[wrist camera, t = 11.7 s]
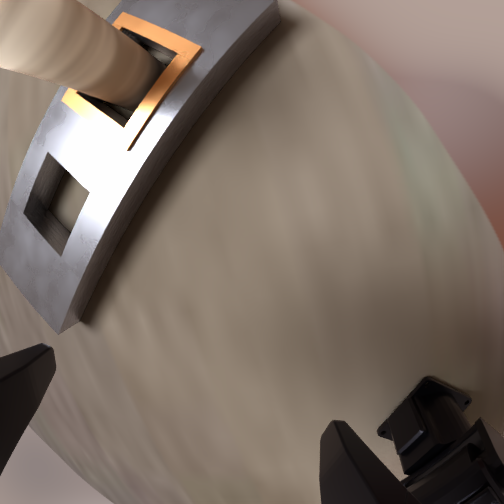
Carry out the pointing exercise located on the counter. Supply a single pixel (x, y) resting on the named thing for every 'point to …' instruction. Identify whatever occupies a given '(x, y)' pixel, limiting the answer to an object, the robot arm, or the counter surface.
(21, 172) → the silver slotted plate
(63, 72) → the peg
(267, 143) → the counter surface
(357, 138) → the counter surface
